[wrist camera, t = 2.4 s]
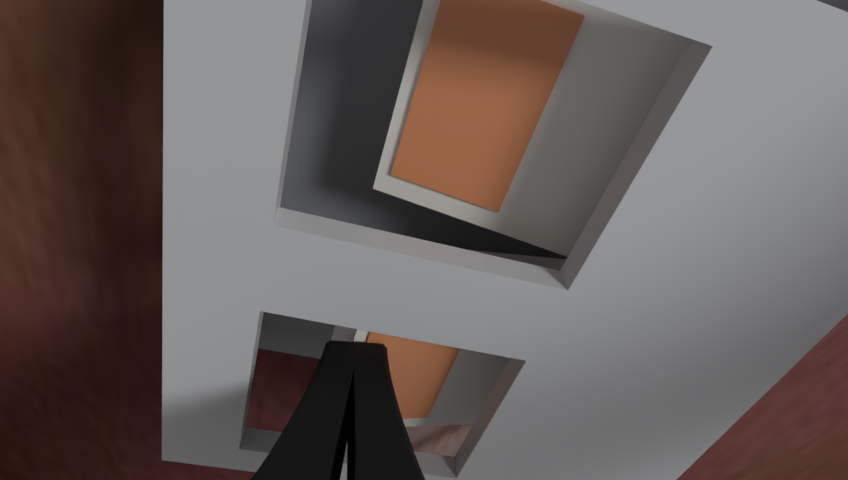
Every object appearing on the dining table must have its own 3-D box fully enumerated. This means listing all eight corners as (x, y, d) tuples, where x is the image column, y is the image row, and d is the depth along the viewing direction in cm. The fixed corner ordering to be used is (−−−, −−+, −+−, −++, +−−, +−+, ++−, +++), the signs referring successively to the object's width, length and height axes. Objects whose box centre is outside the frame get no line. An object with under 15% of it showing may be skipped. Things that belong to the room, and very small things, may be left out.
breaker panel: (850, 9, 13) (1178, 93, 8) (599, 361, 21) (671, 534, 15) (268, -212, 10) (109, -334, 5) (223, 289, 18) (140, 468, 12)
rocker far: (595, 262, 14) (631, 308, 13) (526, 374, 17) (550, 422, 16) (358, 239, 12) (369, 292, 11) (321, 374, 15) (326, 432, 13)
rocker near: (794, 50, 10) (846, 72, 8) (657, 251, 12) (676, 297, 11) (456, -71, 10) (441, -73, 8) (391, 157, 12) (371, 190, 11)
